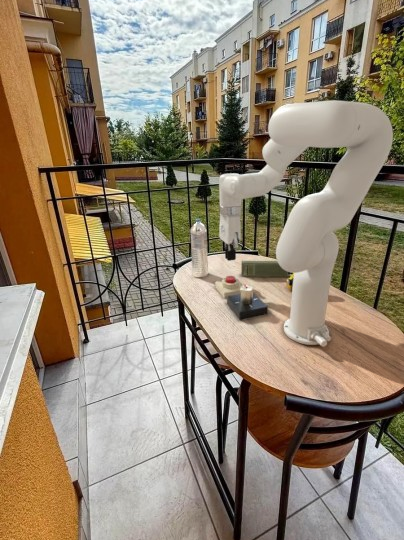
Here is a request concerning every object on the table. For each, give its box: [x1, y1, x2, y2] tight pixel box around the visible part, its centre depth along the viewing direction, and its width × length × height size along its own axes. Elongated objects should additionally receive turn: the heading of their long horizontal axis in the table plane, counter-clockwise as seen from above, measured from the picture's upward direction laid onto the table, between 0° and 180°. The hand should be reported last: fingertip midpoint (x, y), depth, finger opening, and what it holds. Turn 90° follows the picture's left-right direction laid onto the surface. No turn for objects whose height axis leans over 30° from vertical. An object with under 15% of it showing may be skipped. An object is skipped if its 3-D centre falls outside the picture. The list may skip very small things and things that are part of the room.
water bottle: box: [189, 218, 209, 278], centre depth 119 cm, size 7×7×25 cm
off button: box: [225, 275, 236, 283], centre depth 107 cm, size 4×4×2 cm
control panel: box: [226, 291, 269, 321], centre depth 95 cm, size 11×10×3 cm
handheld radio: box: [240, 260, 293, 278], centre depth 119 cm, size 7×3×25 cm
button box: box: [214, 277, 244, 299], centre depth 108 cm, size 10×9×4 cm
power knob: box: [241, 284, 254, 304], centre depth 94 cm, size 4×4×5 cm
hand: (230, 258), depth 104 cm, fingers closed
